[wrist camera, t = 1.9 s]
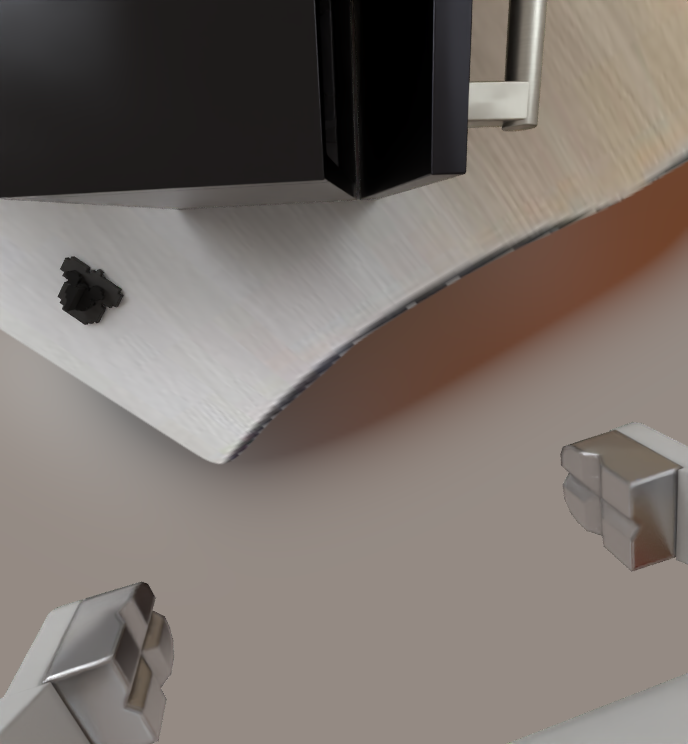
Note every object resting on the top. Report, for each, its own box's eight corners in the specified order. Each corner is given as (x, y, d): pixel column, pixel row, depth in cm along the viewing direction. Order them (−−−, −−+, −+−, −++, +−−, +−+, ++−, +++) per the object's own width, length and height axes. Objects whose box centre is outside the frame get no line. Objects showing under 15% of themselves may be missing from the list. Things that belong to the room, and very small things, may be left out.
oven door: (431, -66, 33) (618, -438, 15) (428, 197, 39) (560, 170, 20) (351, -68, 33) (441, -459, 14) (359, 200, 38) (431, 175, 20)
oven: (348, -65, 33) (291, -449, 14) (356, 200, 39) (324, 180, 20) (139, -41, 35) (-162, -357, 16) (176, 209, 40) (-13, 198, 21)
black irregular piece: (31, 301, 42) (54, 251, 40) (49, 297, 44) (72, 249, 42) (87, 340, 42) (113, 291, 41) (103, 334, 45) (127, 288, 43)
